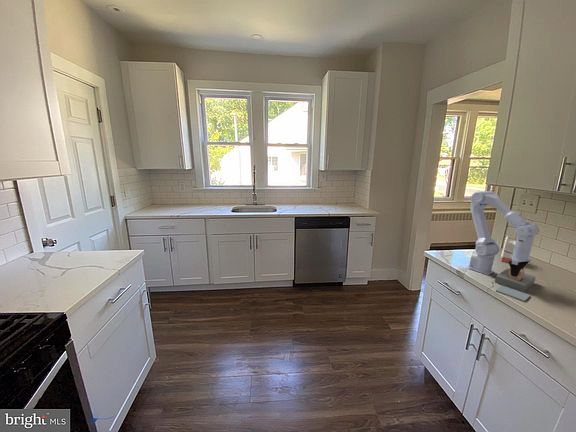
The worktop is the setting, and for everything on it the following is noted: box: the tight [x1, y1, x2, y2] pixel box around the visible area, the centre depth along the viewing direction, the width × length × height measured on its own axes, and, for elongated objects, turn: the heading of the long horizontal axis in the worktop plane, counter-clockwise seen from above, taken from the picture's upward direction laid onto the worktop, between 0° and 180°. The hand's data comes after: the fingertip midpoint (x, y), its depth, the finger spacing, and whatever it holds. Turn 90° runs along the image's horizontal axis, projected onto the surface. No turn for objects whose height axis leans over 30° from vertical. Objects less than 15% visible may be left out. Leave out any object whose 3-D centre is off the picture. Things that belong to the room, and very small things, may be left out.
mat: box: [495, 285, 531, 302], centre depth 111 cm, size 10×8×1 cm
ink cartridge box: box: [500, 235, 516, 264], centre depth 146 cm, size 9×5×15 cm, turn 141°
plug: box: [507, 267, 525, 281], centre depth 119 cm, size 4×4×8 cm
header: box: [494, 268, 536, 293], centre depth 121 cm, size 11×16×4 cm
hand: (515, 274), depth 119 cm, fingers closed on plug, 4 cm apart
